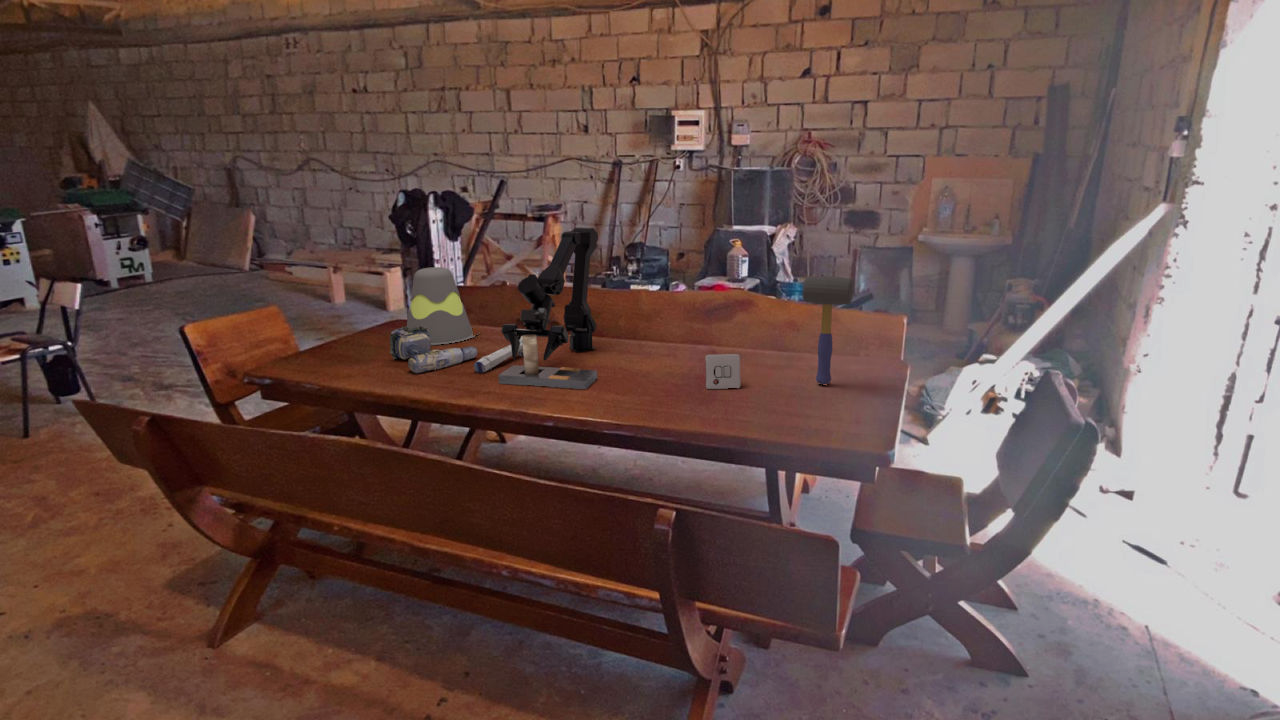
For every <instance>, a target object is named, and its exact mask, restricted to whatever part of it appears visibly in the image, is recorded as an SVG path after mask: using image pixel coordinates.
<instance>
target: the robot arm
mask: <svg viewBox="0 0 1280 720" xmlns="http://www.w3.org/2000/svg"><path fill="white" fill-rule="evenodd" d="M598 240H599V234H598V232H597V231H596V229H595V228H593V227H574V228H573V229H572V230H568V231H567V230H566V231H564V232H562V233H561V240H560V241H559V244H558V246H557V248H556V251H555V253H554V255H553V257H552V259H551V262H550V263H549V265H548V267H546V268H545V269H543V270H542V271H541V272H540V273H539V275H538V276H537V275H536V274H531V273H529V274H528V276H527V277H524V278H523V279H521V281H520V282H519V283H518V285H517V291H518V292H519V293H520V294H521V295H522V296H523V298H524V299H525V300H526V302H527V303H528V304H531V308H530V309H521V310H520V318H519V319H520V320H519V321H520V322H523V324H522V325H523V326H524V327H526V328H519V326H518V325H517V323H505V324H503V325H502V326H501V330H500V332H501V334H502V335H503V337H504V339H505V340H506V341H508V342H509V344H510V345H511V348H512V356H511V357H512V359H513V360H516V358H517V356H518V349H519V346H520V341H519V340H520V339H521V337H522V336H523V335H528V334H533V335H536V336H537V338H538V337H543V338H547V343H546V347H545V350H544V353H543V358H542V359H543V361H544V362H546V361H547V360H548V359H549V357H550V356H551V355H552V354H553V353H554V352H555V350H557V349H558V348H559V347H561V346H563V345H564V344H567V343H569V349H570V350H572V351H574V352H575V353H582V352H587V351H589V352H590V351H594V350H596V347H594V345H593V333H596V330H597V322H596V321H595V319H594V318H593V317H592V309H591V307H590V304H589V302H588V293H589V292H588V289H589V276H590V264H591V256H592V255H593V253H594V252H595V251H596V249H597V246H598V245H597V244H598ZM573 254H574V263H573V265H574V266H573V275H572V276H573V277H572V278H573V279H572V290H571V300H570V301H569V302H568V304H565V305H564V314H563V322H564V325H554V324H553V325H551V326H550V328H549V329H547V328H548V324H549V325H550V321H551V320H550V316H551V315H550V314H551V310H552V308H555V307H556V304H555V302H554V299H553V298H552V297H551V296H559V295H561V293H562V292H563V290H564V286H565V283H566V279H565V273H566V270H567V268H568V266H569V264H570V261H571V259H572V257H573ZM569 332H570V335H569V334H568V333H569Z"/></svg>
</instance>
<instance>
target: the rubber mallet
mask: <svg viewBox="0 0 1280 720" xmlns="http://www.w3.org/2000/svg"><path fill="white" fill-rule="evenodd" d="M853 294H854V281H853V279H852V278H848V277H839V276H832V275H831V276H830V275H829V276H828V275H815V276H811V275H810V276H806V277H805V278H804V281H803V287H802V299H803V301H804V302H806V303H812V304H819V305H820V304H821V305H822V311H821V328H820V333H819V337H818V344H817V358H818V363H817V373H816V375H815V381H816V383H817V384H818V383H820V384H828V383H829V384H831V381H832V376H831V375H832V374H831V364H832V363H831V361H832V354H833V335H832V320H833V319H832V315H833V305H836V306H837V305H840V306H841V305H842V306H843V305H850V304H851V303H852V300H853Z"/></svg>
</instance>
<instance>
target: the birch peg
mask: <svg viewBox="0 0 1280 720" xmlns="http://www.w3.org/2000/svg"><path fill="white" fill-rule="evenodd" d="M521 337H522V341H523V356H524V357H523V366H524V371H525V374H527V375H538V374H539V368H538V367H539V358H538V357H539V356H538V354H539V353H538V339H537V338H538V337H537V336H536V335H533V334H528V335H523V336H521Z"/></svg>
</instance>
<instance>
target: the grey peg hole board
mask: <svg viewBox="0 0 1280 720" xmlns="http://www.w3.org/2000/svg"><path fill="white" fill-rule="evenodd" d="M538 368H539V374H538V375H527V374H525V371H524V365H516V364H513V365H510V367H508V368H507V369H505V370H504V371H502V372H501V373H499V374H498V384H500V385H517V386H527V385H531V386H530V387H541V386H546V387H545V388H555V387H558V388H557V389H569V388H573V389H572V390H583V389H586V390H587V389H588V388H589V387H591V385H593V384H594V383H595V382H596V379H597V380H598V370H595V369H583V368H582V369H581V368H579V367H578V368H577V367H568V366H567V367H565V366H561V367H550V366H549V367H548V366H538ZM532 385H534V386H532ZM547 386H548V387H547Z"/></svg>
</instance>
